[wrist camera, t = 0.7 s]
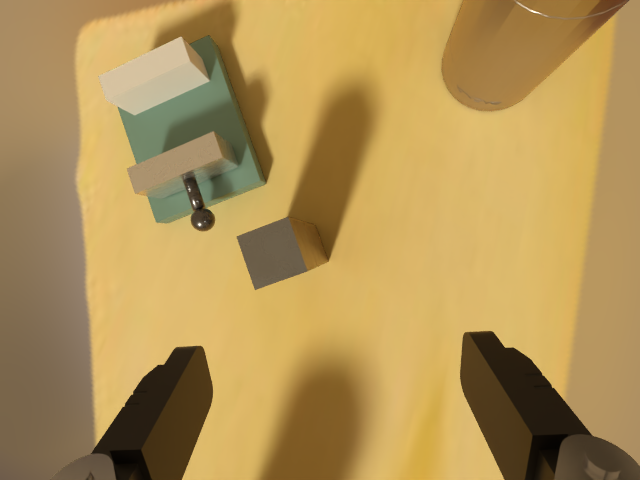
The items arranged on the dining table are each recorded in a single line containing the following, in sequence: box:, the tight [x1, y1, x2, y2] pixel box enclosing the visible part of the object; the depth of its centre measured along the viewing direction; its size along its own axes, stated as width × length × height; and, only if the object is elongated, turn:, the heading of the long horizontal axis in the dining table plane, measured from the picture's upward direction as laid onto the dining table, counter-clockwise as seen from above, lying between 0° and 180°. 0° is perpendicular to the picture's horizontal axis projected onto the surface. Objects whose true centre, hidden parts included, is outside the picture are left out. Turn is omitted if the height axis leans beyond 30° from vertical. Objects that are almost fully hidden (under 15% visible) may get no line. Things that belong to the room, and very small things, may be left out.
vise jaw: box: [127, 131, 239, 231], centre depth 34 cm, size 8×9×4 cm
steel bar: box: [237, 217, 329, 290], centre depth 31 cm, size 4×4×12 cm
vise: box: [98, 35, 266, 223], centre depth 35 cm, size 16×12×6 cm
